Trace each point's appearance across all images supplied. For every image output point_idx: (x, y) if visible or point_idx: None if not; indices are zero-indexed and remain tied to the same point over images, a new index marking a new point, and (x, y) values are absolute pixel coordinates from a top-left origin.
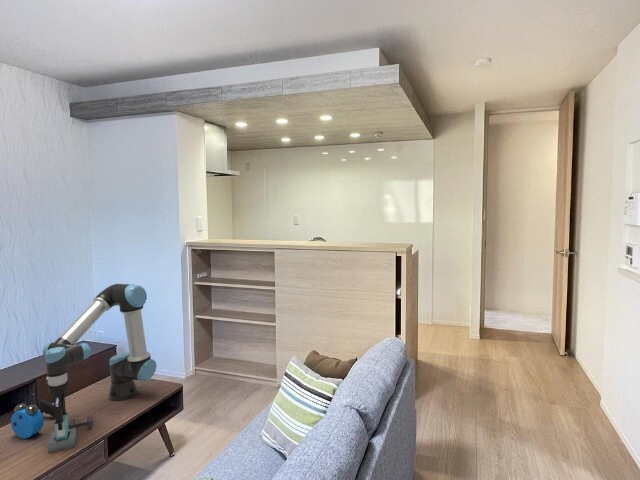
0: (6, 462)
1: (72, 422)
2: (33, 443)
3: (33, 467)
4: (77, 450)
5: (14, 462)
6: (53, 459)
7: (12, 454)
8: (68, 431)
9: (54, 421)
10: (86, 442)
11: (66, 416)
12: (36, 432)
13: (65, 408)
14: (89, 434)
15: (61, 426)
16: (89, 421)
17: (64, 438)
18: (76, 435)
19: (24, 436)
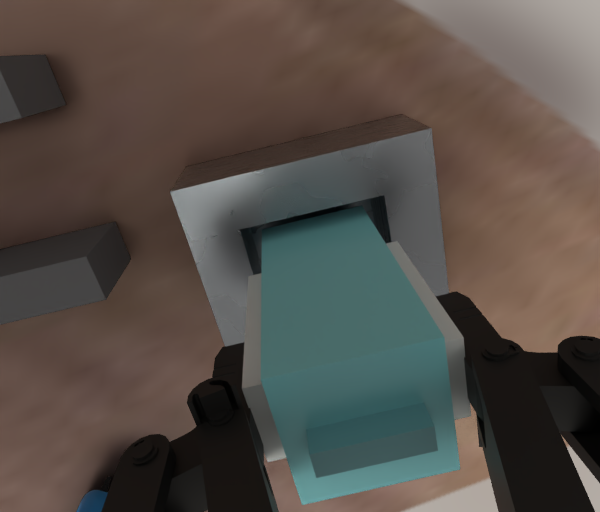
0: (447, 490)
1: (31, 284)
2: None
3: (593, 319)
4: (478, 58)
5: (467, 452)
6: (545, 222)
7: (359, 501)
8: (245, 249)
9: (456, 460)
10: (344, 12)
11: (343, 358)
12: None
13: (114, 492)
14: (171, 38)
15: (484, 321)
16: (5, 78)
17: (395, 232)
18: (220, 163)
19: None
